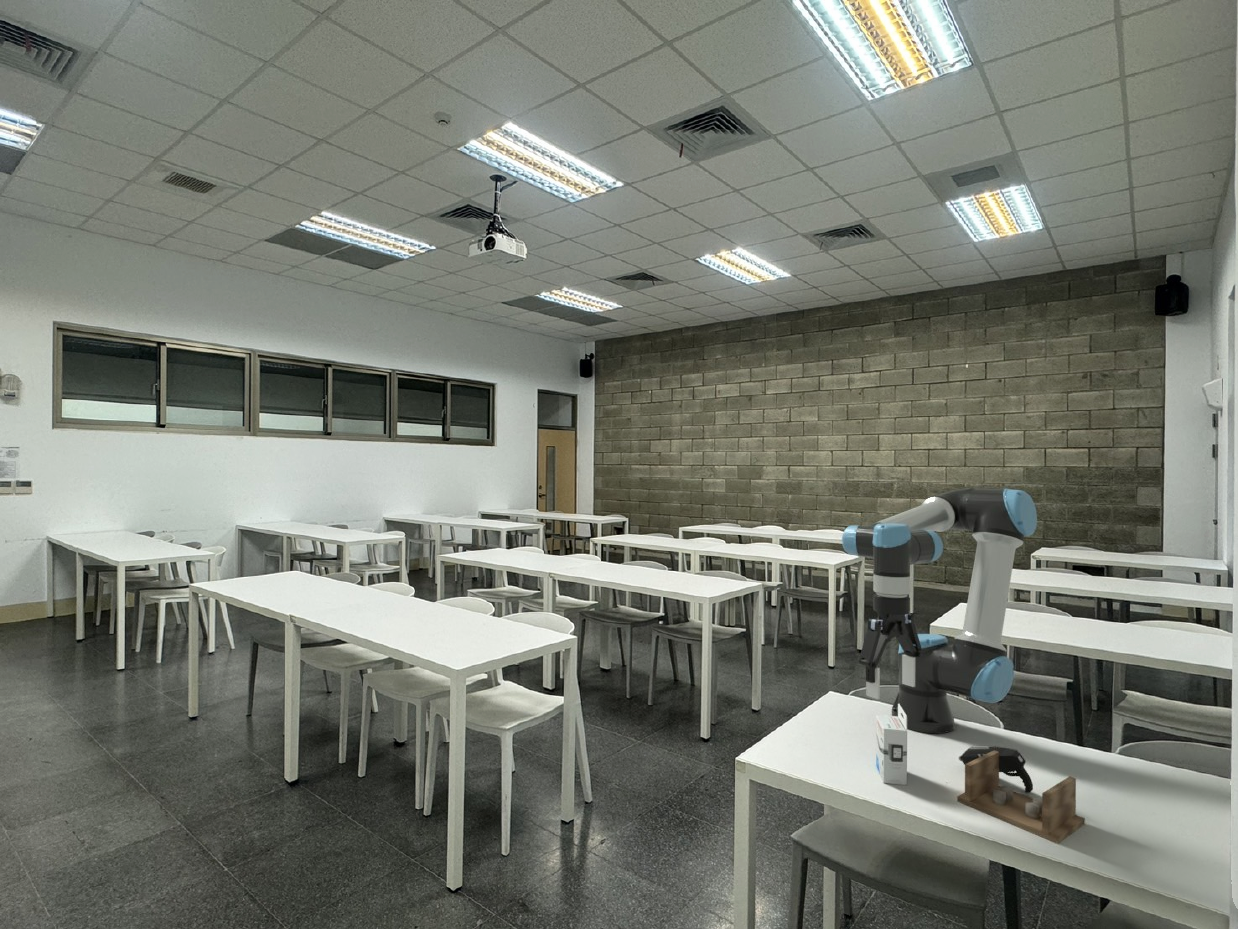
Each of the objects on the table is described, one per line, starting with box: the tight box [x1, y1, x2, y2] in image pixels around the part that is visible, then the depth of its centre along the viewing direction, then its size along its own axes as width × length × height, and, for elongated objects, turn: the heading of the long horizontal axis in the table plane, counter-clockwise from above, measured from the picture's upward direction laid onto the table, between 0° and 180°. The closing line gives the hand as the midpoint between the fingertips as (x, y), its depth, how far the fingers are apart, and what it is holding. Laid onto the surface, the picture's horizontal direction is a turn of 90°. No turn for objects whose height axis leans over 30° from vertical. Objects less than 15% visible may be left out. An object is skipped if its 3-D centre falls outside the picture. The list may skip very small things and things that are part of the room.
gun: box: [958, 745, 1034, 793], centre depth 140 cm, size 3×16×10 cm
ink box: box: [875, 704, 908, 786], centre depth 142 cm, size 9×5×15 cm, turn 168°
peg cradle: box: [956, 750, 1086, 844], centre depth 127 cm, size 12×18×8 cm, turn 35°
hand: (891, 691), depth 142 cm, fingers open, 13 cm apart
